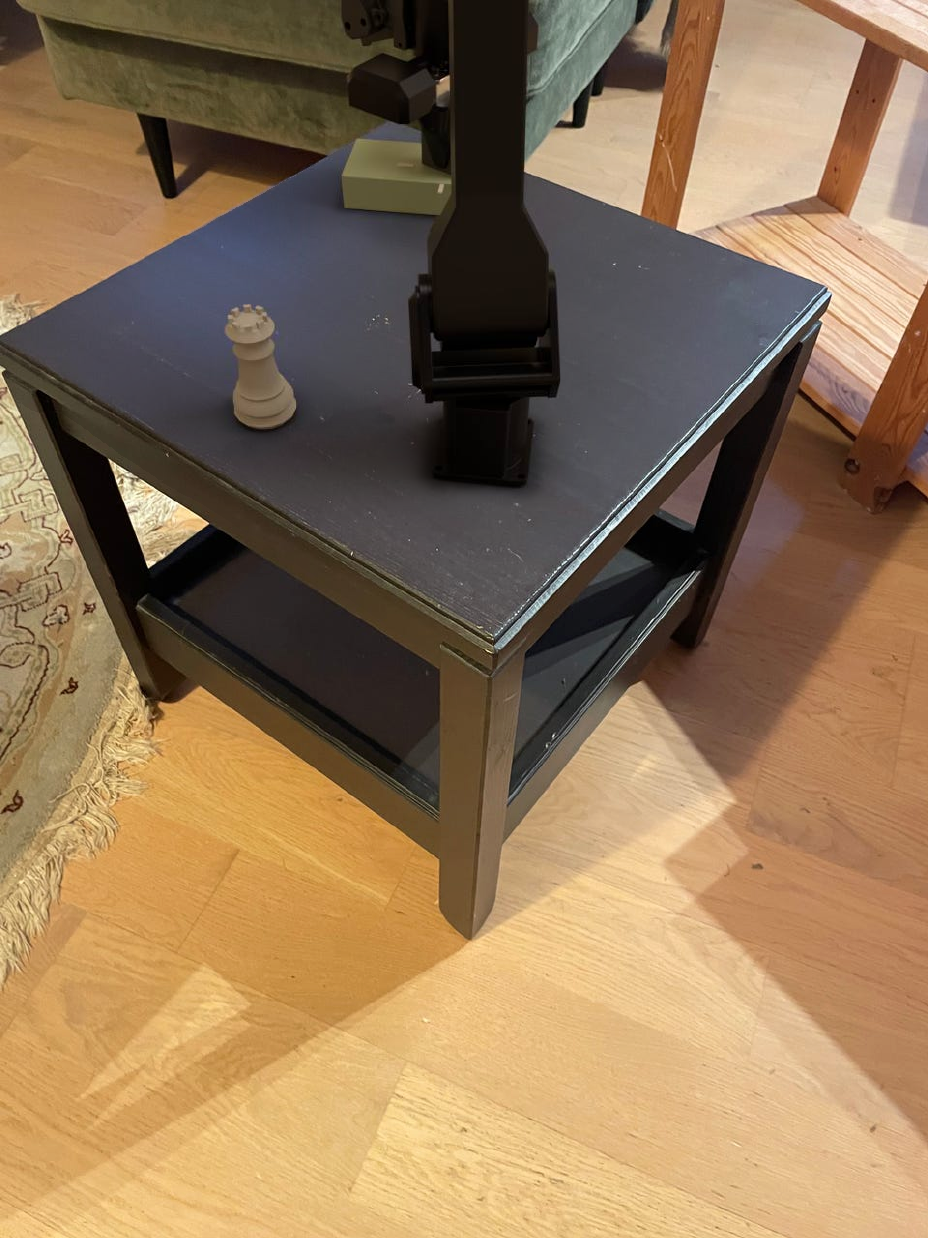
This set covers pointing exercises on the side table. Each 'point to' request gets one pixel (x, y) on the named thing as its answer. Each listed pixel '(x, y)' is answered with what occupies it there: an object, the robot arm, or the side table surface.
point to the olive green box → (393, 179)
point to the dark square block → (428, 159)
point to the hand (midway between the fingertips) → (446, 163)
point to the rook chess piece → (258, 371)
